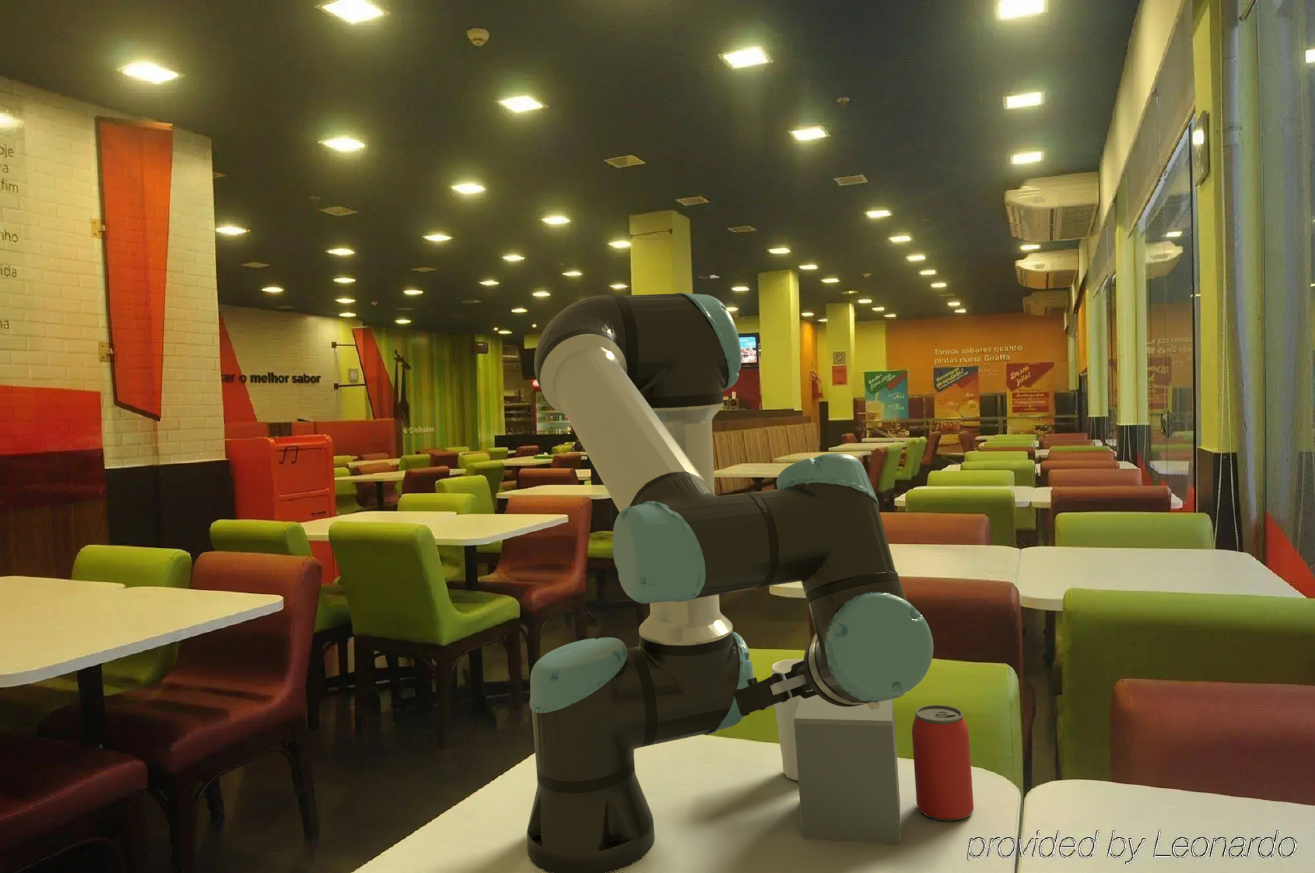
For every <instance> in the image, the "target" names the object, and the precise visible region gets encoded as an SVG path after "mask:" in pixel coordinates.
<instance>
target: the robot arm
mask: <svg viewBox="0 0 1315 873" xmlns="http://www.w3.org/2000/svg"><path fill="white" fill-rule="evenodd" d="M737 329H738V328H737V326H736V324H735V321H734V319H733V317H732V315H731V313H730V312H729V311H728V309H727V307H726V305H724V303H723V302H722V301H720V300H719V299H718V298H716V297H715V296H712V295H709V294H701V293H700V294H699V293H687V292H683V293H682V292H677V293H659V294H658V293H656V294H655V293H653V294H651V293H650V294H629V295H626V294H625V295H622V294H621V295H611V294H609V295H608V294H606V295H594V296H589V297H585V298H582V299H581V300H578V301H576V302H573V303H571V304H570V305H568V306H567V307H565V308H564V309H561V311H559V313H558V314H556V315H555V316H554V317H553V319H551V321H550V322H549V323H547V326H546V327H545V329H544V330H543V331H542V334H541V335H540V338H539V340H538V342H537V345H536V349H535V353H534V361H533V362H534V364H533V365H534V366H533V367H534V373H535V374H534V375H535V378H536V382H537V385H538V387H539V389H540V391H541V393H542V395H543V397H544V399H545V400H546V402H547V403H548V404H549V406H551V407H552V408H553V409H554V410H555V411H556V412H559V413H561V414H563V415H565V417H566V419H567V420H568V422H569V424H570V425H571V427H572V429H573V431H574V433H575V435H576V437H577V438H578V440H579V442H580V445H581V446H582V448H583V449H584V451H585V453H586V455H587V456H588V458H589V460H590V462H591V463H592V465H593V468H594V469H595V471H596V472H597V474H598V476H599V478H600V480H601V482H602V483H603V485H604V487H605V488H606V491H607V493H608V494H609V496H610V498H611V499H612V501H613V504H614V505H615V507H616V508H617V510H618V512H619V513H618V515H617V516H616V519H615V521H614V524H613V531H612V554H613V560H614V565H615V568H616V570H617V572H618V573H617V574H618V580H619V583H620V585H621V587H622V590H623V591H624V592H625V594H626V595H627V597H629V598H630V599H632V601H635V602H636V603H638V604H649V615H648V617H646V619H645V620H644V621H643V622H642V623H641V624H640V625H639V628H638V636H639V638H638V639H639V645H638V646H635V647H630V648H629V647H628V648H627V646H626V644H625V643H624V641H623V640H622V639H619V638H616V637H609V636H607V637H599V638H588V639H587V638H586V639H582V640H581V639H580V640H577V641H574V642H571V643H567V644H565V645H562V646H560V647H559V646H558V647H557V648H555V649H553V650H550V651H549V652H547V653H545V655H542V656H541V657H540V658H539V659H538V660H537V661H536V662H535V664H534V665H533V667H532V669H531V673H530V681H529V684H530V686H529V687H530V689H529V690H530V691H529V692H530V697H529V707H530V710H531V717H532V729H533V740H534V741H533V742H534V754H535V766H536V777H537V778H536V780H537V783H536V784H537V785H536V786H537V788H536V789H535V790H536V791H535V795H534V800H533V804H532V808H531V812H530V816H529V820H528V825H527V829H526V844H527V845H526V848H527V855H528V858H529V860H530V862H531V863H532V864H533V865H535V866H536V867H537V868H539V869H540V870H543V871H545V872H547V873H611V872H615V871H619V870H620V869H624V868H626V867H628V866H630V865H632V864H634V863H635V862H637V861H639V860H640V859H642V858H643V857H645V855H646V854H648V853H649V851H650V849H651V848H652V847H653V845H654V843H655V825H654V824H655V822H654V818H653V813H652V810H651V809H650V806H649V804H648V801H647V799H646V796H645V794H644V791H643V789H642V786H641V785H640V782H639V779H638V777H637V774H636V767H635V765H636V764H635V750H636V749H640V748H643V747H649V746H653V745H659V744H663V743H668V742H673V741H677V740H682V739H689V738H693V737H697V736H702V735H703V736H704V735H705V736H710V735H712V734H713V735H714V734H715V733H717V731H720V730H725V729H728V728H732V727H734V726H736V725H737V724H739V723H740V722H741V720H742V719H743V718H744V717H747V716H750V714H752V713H754V712H756V711H757V712H758V711H765V710H768V709H770V708H774V704H776V703H779V702H782V703H783V702H786V701H787V700H789V699H791V698H793V697H796V696H799V695H800V696H801V697H802V698H804V699H806V698H809V697H812V696H815V695H819V696H820V697H821V698H822V699H824V700H825V701H827V702H829V703H831V704H834V705H837V706H842V707H853V706H858V705H863V704H866V703H867V704H868V706H869V708H870V709H872V710H874V709H878V708H879V707H880V702H879V701H885V700H890V699H893V700H894V699H898V698H901V697H903V696H904V695H905V694H906V693H907V692H910V691H911V690H912V689H914V688H915V687H916V686H917V685H919V684H920V682H922V680H924V678H925V676H926V675H927V673H928V671H929V669H930V666H931V664H932V661H933V657H934V641H933V635H932V631H931V629H930V626H929V624H928V622H927V620H926V619H925V617H924V616H923V615H922V614H921V612H920V611H919V610H918V609H917V608H916V607H915V606H913V604H912V603H910V602H909V601H908V600H907V596H906V593H905V589H904V587H903V583H902V581H901V580H900V576H899V573H898V572H897V570H896V567H895V563H894V559H893V556H892V553H891V549H890V546H889V542H888V538H887V535H886V531H885V527H884V523H883V519H882V516H881V511H880V503H879V500H878V498H877V496H876V494H875V491H874V488H873V486H872V483H871V481H870V478H869V475H868V473H867V471H866V469H865V467H864V465H863V463H862V461H860V459H859V458H857V457H856V456H854V455H852V454H848V453H838V452H837V453H836V452H835V453H834V452H833V453H825V454H821V455H819V456H816V457H807V458H804V459H802V460H800V461H797V462H794V463H792V464H790V465H788V466H787V467H785V468H784V469H783V470H782V471H781V472H780V473H779V474H778V475H777V479H776V489H770V490H761V491H752V492H743V493H735V494H724V495H716V493H715V492H716V491H715V490H716V489H715V470H714V465H715V464H714V442H713V441H714V439H713V419H714V417H715V416H716V415H717V413H718V412H719V411H720V410H721V409H722V408H723V407H724V391H726V390H728V389H730V388H732V387H733V386H734V385H735V384H736V383H737V381H738V380H739V377H740V374H739V373H740V372H739V371H740V370H741V369H742V368H741V367H742V350H741V341H740V336H739V332H738V330H737ZM799 582H801V586H802V588H803V591H804V595H805V599H806V601H807V602H806V603H807V604H808V606H809V611H810V615H811V619H812V621H813V622H812V624H813V627H814V630H815V633H814V635H813V636H812V637H811V638H810V640H809V642H808V644H807V645H806V648H805V652H804V654H803V655H804V656H803V659H804V660H803V661H801V662H798V663H796V664H793V665H792V667H791V671H790V672H787V673H785V674H784V673H775V674H772V676H769V677H767V678H765V679H762V680H761V681H758V679H757V677H755V676H754V670H753V668H754V667H753V662H752V661H751V660H750V659H749V658H750V651H749V647H748V645H747V644H746V641H745V640H744V639H743V637H742V636H741V635H740V634H739V633H737V632H735V631H734V630H733V628H734V626H733V623H732V622H731V621H730V619H728V618H727V617H726V616H725V615H723V613H722V612H721V611H720V610H721V609H720V595H724V594H728V593H734V592H741V591H747V590H751V589H759V588H764V587H771V586H778V585H785V584H792V583H799Z"/></svg>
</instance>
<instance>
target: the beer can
mask: <svg viewBox="0 0 1315 873" xmlns="http://www.w3.org/2000/svg"><path fill="white" fill-rule="evenodd" d="M914 715H915V717H914V719H913V721H912V728H911V737H912V738H911V739H912V754H913V766H914V784H915V797H916V798H915V799H916V806H917V808H918V810H919V811H920V812H921V813H923V814H924V815H925V816H927V817H929V818H931V819H934V820H939V821H945V822H946V821H947V822H951V821H953V822H954V821H959V820H964V819H965V818H967V817H969V816H970V815H972V813H973V811H974V806H975V805H974V796H973V795H974V794H973V793H974V792H973V779H972V778H973V776H972V764H971V763H972V762H971V761H972V760H971V749H970V748H971V747H970V745H971V744H970V736H969V735H970V733H969V728H968V724H967V723H966V720H965V719H964V712H962V710H961V709H959V708H957V707H954V706H950V705H945V704H943V705H942V704H931V705H923V706H921V707H918V708H917V709H916V710H915V711H914Z"/></svg>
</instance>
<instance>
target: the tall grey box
mask: <svg viewBox="0 0 1315 873" xmlns="http://www.w3.org/2000/svg"><path fill="white" fill-rule="evenodd" d="M879 702H880V707H879V708H878V709H874V710H872V709H870V708H869V706H868V704H867V703H866V704H863V705H858V706H853V707H842V706H837V705H834V704H831V703H829V702H827V701H825V700H824V699H822V698H821V697H820V696H819V695H815V696H812V697H809V698H806V699H804V698H802V697H801V698H800V701H799V704H798V707H797V710H796V714H795V717H794V726H795V740H796V754H797V769H798V781H797V783H798V795H799V809H800V810H799V811H800V821H801V823H800V824H801V837H802V839H815V840H830V841H831V840H833V841H845V842H846V841H847V842H859V843H877V844H879V843H880V844H891V845H901V798H900V796H901V794H900V782H899V768H898V766H899V765H898V753H897V738H896V737H897V736H896V723H895V709H894V705H895V704H894V699H890V700H885V701H879Z"/></svg>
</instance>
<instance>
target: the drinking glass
mask: <svg viewBox="0 0 1315 873" xmlns="http://www.w3.org/2000/svg"><path fill="white" fill-rule="evenodd" d="M803 660H804V658H791V659H790V658H789V659H783V660H779V661H777V662H774V663H773V664H772V665H771V670H770V671H771V673H770V675H771V676H772V674H775V673H784V674H785V673H787V672H790V671H791V667H792V665H793V664H796V663H798V662H801V661H803ZM771 676H770V677H771ZM800 698H801V696H800V695H799V696H796V697H793V698H791V699H789V700H787V701H786V702H783V703H782V702H779V703H776V704H774V706H773V708H774V712H775V713H774V714H775V719H776V720H775V721H776V726H777V733H778V739H779V746H780V752H781V758H782V771H783V774H784V775H785V777H787V778H788V779H790V780H793V781H796V782H798V769H797V754H796V740H795V726H794V717H795V714H796V710H797V707H798V704H799V701H800Z"/></svg>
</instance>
